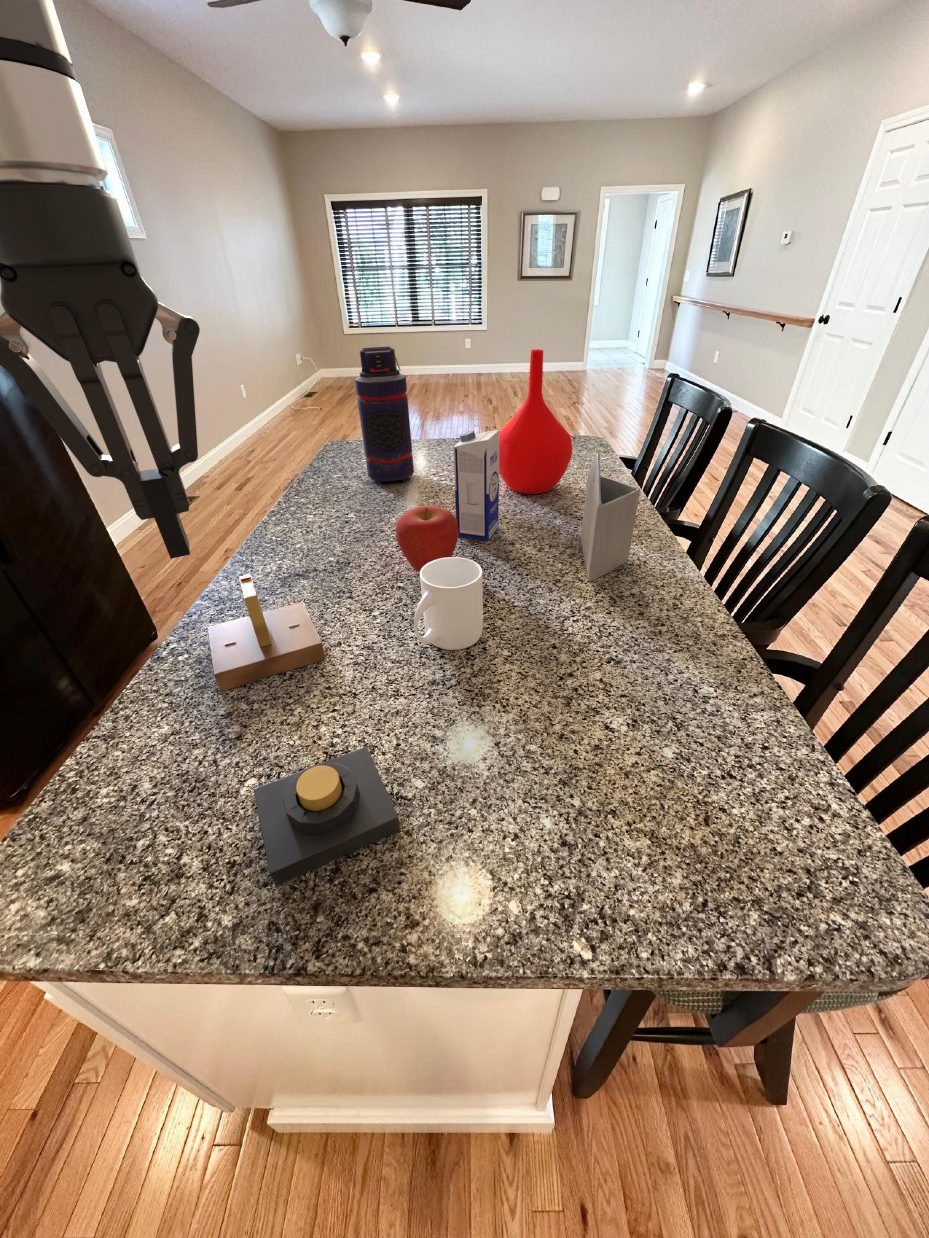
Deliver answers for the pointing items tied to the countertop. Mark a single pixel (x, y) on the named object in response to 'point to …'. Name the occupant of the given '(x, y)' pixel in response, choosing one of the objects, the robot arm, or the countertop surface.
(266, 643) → the thumbturn
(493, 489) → the milk carton
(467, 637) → the mug
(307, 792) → the button
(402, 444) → the navy water bottle
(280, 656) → the plate
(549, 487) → the vase
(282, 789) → the push button housing
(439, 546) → the apple
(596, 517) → the planter
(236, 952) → the countertop surface
